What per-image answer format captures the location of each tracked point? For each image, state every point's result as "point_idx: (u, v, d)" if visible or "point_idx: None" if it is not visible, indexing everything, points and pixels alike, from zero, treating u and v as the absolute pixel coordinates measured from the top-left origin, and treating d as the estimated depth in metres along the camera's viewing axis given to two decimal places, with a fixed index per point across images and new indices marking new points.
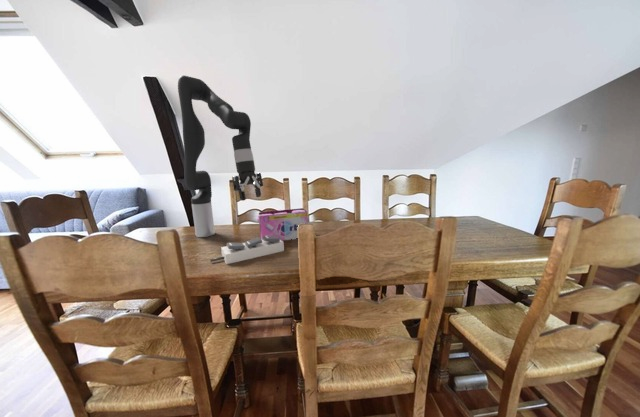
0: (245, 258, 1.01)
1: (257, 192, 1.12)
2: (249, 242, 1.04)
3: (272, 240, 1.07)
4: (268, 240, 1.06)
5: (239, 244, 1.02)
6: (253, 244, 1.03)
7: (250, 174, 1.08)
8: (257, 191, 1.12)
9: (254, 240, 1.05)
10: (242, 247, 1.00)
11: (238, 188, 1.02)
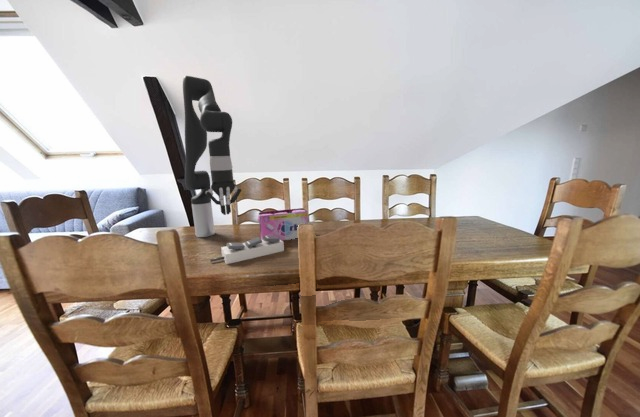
0: (245, 258, 1.01)
1: (226, 209, 0.97)
2: (249, 242, 1.04)
3: (272, 240, 1.07)
4: (268, 240, 1.06)
5: (239, 244, 1.02)
6: (253, 244, 1.03)
7: (226, 184, 0.94)
8: (226, 208, 0.96)
9: (254, 240, 1.05)
10: (242, 247, 1.00)
11: (217, 202, 0.93)
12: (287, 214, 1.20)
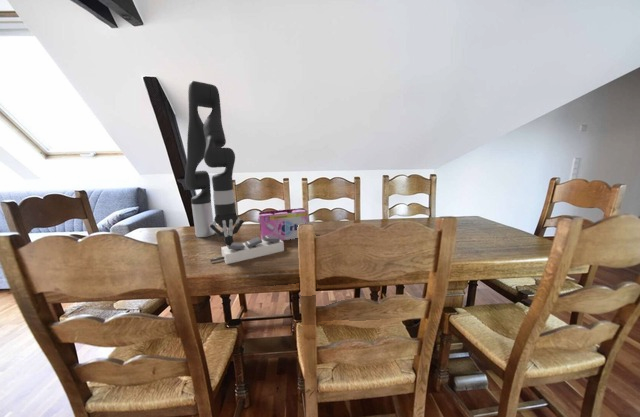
0: (245, 258, 1.01)
1: None
2: (249, 242, 1.04)
3: (272, 240, 1.07)
4: (268, 240, 1.06)
5: (239, 244, 1.02)
6: (253, 244, 1.03)
7: (229, 217, 0.97)
8: None
9: (254, 240, 1.05)
10: (242, 247, 1.00)
11: (220, 234, 0.96)
12: (287, 214, 1.21)
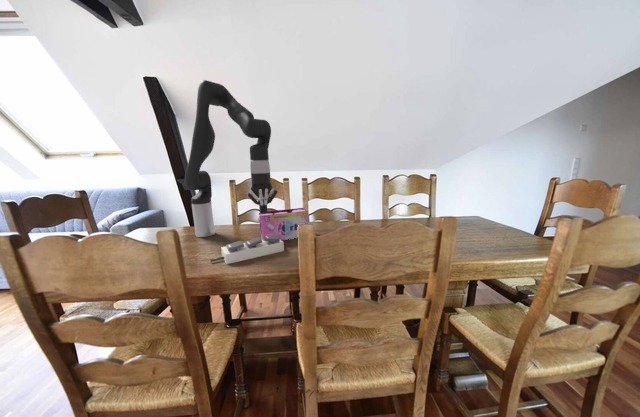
0: (245, 258, 1.01)
1: None
2: (249, 242, 1.04)
3: (272, 240, 1.07)
4: (268, 240, 1.06)
5: (238, 243, 1.01)
6: (253, 244, 1.03)
7: (264, 186, 1.02)
8: None
9: (254, 240, 1.05)
10: (241, 245, 1.00)
11: (257, 202, 1.01)
12: (287, 214, 1.21)
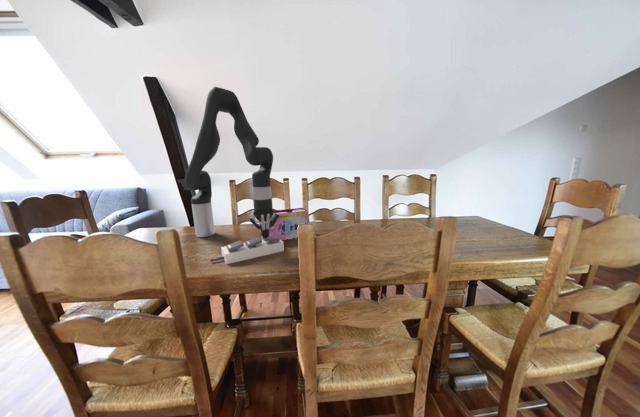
0: (245, 258, 1.01)
1: None
2: (249, 242, 1.04)
3: (272, 240, 1.07)
4: (268, 240, 1.06)
5: (238, 243, 1.01)
6: (253, 244, 1.03)
7: (266, 211, 1.04)
8: None
9: (254, 240, 1.05)
10: (241, 245, 1.00)
11: (258, 227, 1.04)
12: (287, 214, 1.21)
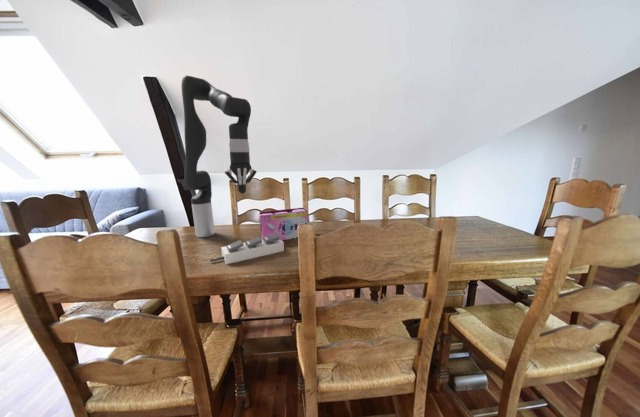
0: (245, 258, 1.01)
1: None
2: (249, 242, 1.04)
3: (272, 240, 1.07)
4: (268, 241, 1.06)
5: (237, 243, 1.01)
6: (253, 244, 1.03)
7: (243, 166, 1.03)
8: None
9: (254, 240, 1.05)
10: (241, 245, 1.00)
11: (235, 181, 1.02)
12: (288, 213, 1.21)
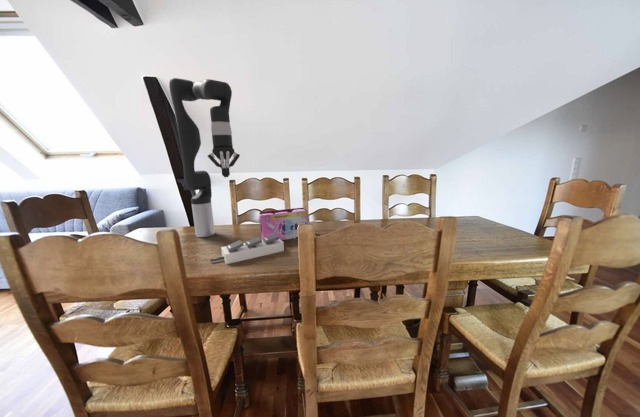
0: (245, 258, 1.01)
1: None
2: (249, 242, 1.04)
3: (272, 240, 1.07)
4: (268, 242, 1.06)
5: (237, 243, 1.01)
6: (253, 244, 1.03)
7: (226, 149, 1.03)
8: None
9: (254, 240, 1.05)
10: (241, 245, 1.00)
11: (218, 164, 1.03)
12: (288, 213, 1.21)
